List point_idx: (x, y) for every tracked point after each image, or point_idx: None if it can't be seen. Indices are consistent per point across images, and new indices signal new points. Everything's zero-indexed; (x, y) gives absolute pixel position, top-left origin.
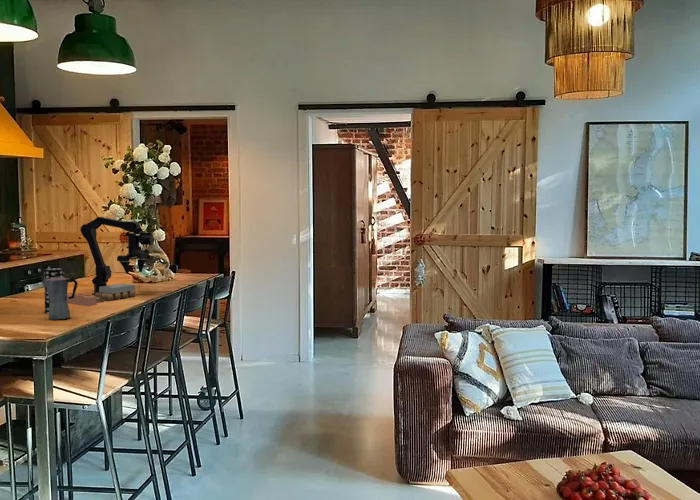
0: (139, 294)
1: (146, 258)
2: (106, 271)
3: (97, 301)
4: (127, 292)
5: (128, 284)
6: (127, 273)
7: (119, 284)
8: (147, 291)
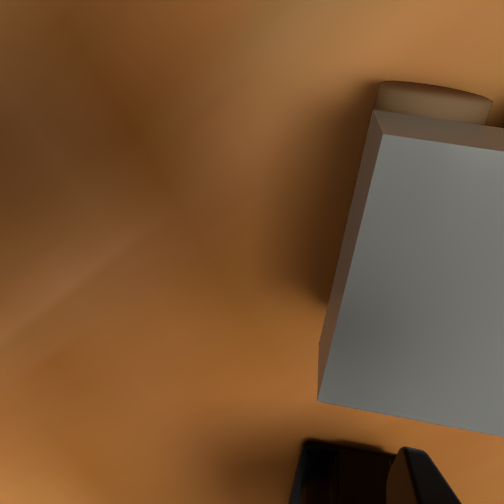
0: (164, 169)
1: None
2: None
3: None
4: None
5: (389, 268)
6: (426, 470)
7: (447, 386)
8: None
